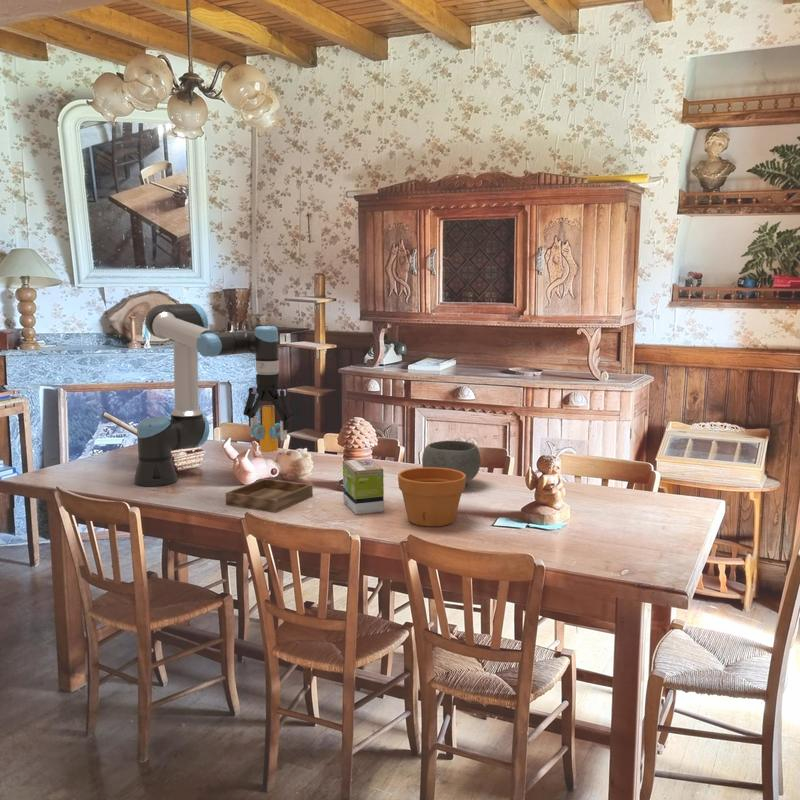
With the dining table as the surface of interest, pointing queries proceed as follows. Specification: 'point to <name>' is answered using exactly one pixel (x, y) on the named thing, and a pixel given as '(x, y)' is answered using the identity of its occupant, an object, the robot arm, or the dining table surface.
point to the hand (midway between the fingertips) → (268, 438)
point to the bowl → (453, 457)
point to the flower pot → (431, 494)
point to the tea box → (363, 486)
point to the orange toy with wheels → (267, 430)
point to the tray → (269, 495)
